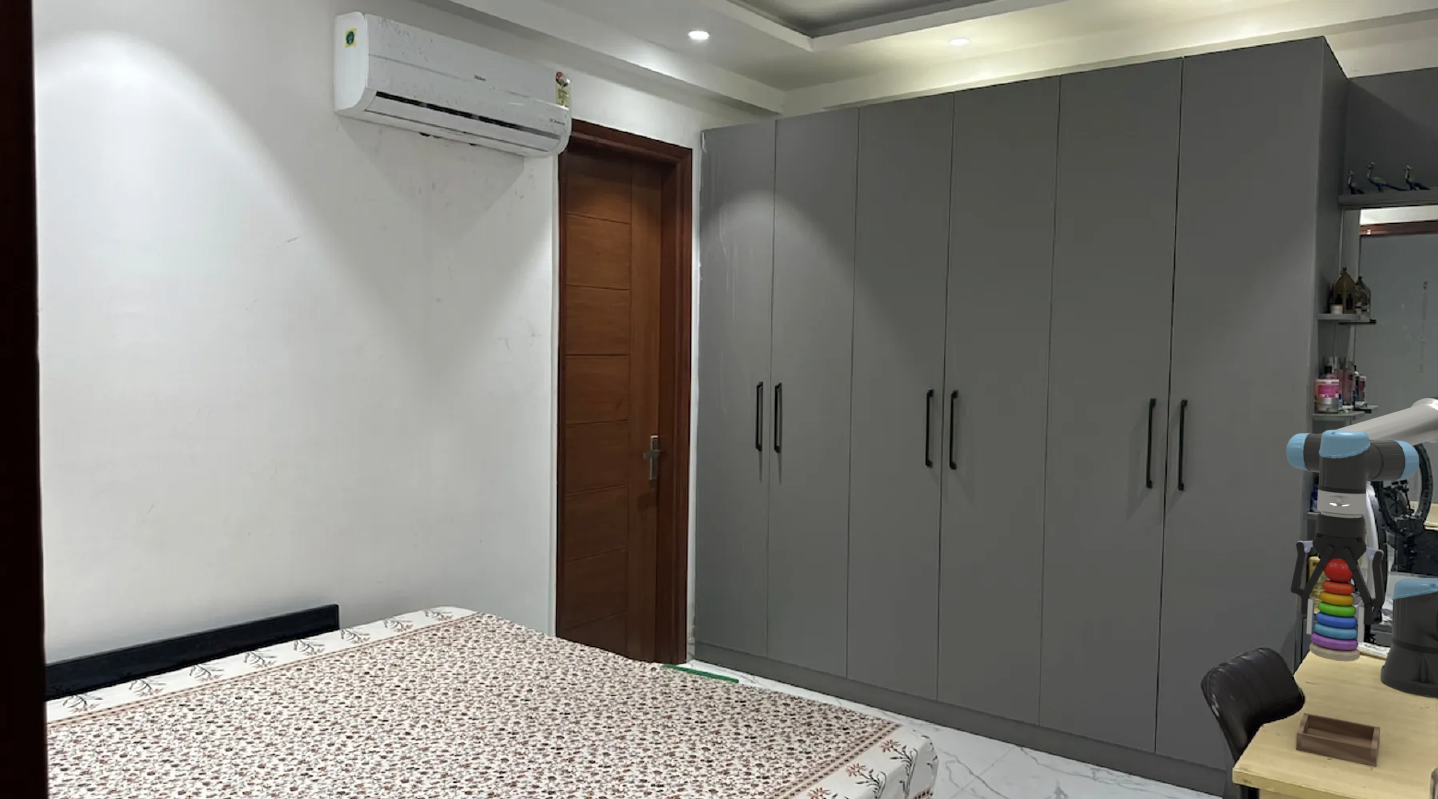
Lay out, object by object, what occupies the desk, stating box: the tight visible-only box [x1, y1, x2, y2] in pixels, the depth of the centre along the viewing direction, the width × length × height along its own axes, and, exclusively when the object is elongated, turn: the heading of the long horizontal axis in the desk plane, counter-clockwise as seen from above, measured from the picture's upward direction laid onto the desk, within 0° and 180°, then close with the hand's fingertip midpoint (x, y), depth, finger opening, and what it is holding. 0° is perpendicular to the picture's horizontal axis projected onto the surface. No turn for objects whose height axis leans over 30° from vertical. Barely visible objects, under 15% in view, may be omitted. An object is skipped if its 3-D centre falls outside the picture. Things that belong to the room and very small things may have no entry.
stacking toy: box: [1309, 558, 1361, 662], centre depth 180 cm, size 8×8×19 cm
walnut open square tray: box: [1295, 712, 1381, 767], centre depth 177 cm, size 12×12×3 cm
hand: (1334, 636), depth 180 cm, fingers closed on stacking toy, 7 cm apart
